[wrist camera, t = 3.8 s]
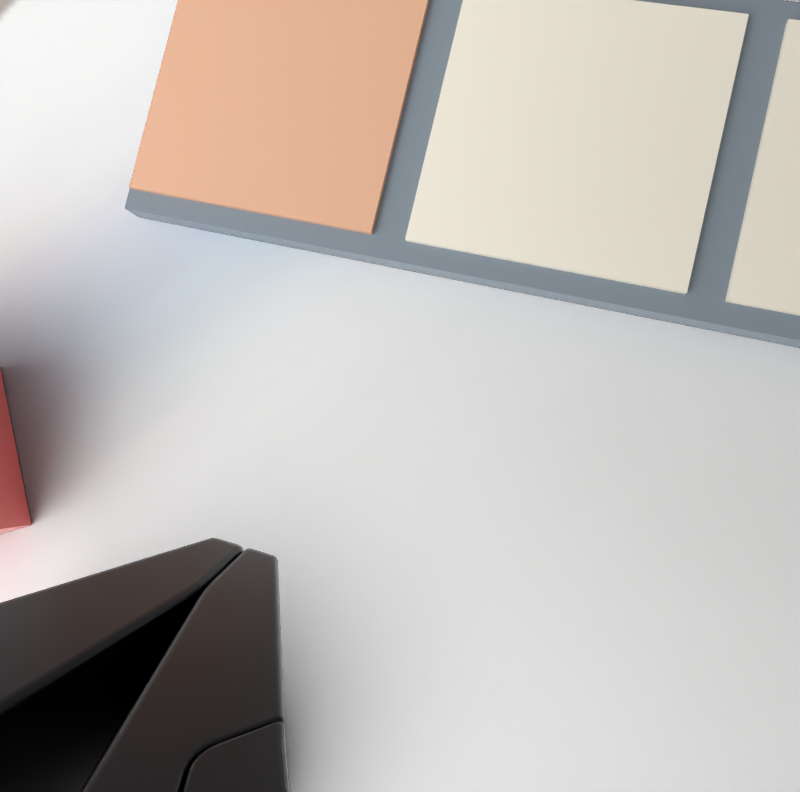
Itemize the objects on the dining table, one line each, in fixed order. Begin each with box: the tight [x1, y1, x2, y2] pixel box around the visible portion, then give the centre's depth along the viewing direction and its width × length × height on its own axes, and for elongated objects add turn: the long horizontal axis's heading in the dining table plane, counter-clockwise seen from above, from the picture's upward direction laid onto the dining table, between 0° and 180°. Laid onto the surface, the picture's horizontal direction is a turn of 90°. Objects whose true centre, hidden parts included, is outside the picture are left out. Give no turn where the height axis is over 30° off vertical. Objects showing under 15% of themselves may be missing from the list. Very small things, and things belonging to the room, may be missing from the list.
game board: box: [125, 0, 800, 348], centre depth 20 cm, size 24×9×1 cm, turn 76°
